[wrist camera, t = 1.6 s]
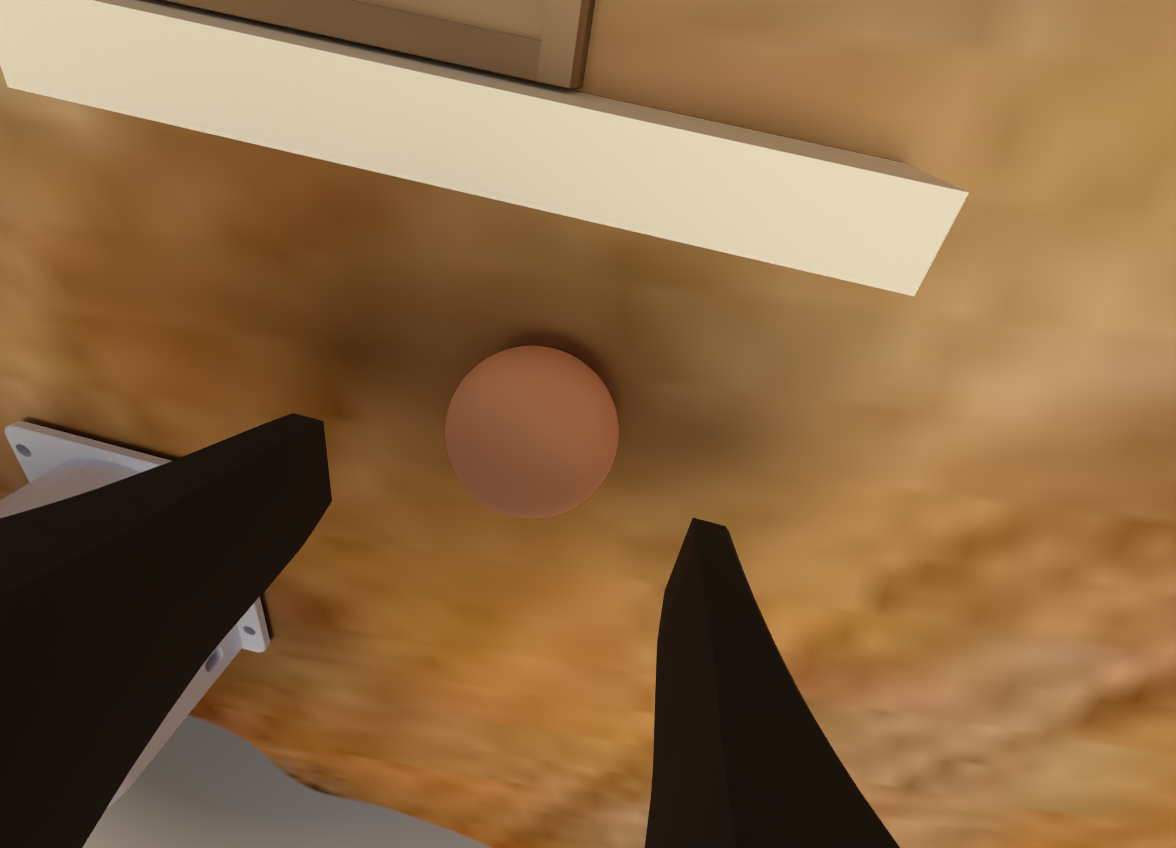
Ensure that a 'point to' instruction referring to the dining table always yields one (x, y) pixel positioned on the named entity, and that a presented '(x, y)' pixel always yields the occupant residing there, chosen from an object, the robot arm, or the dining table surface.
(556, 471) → the ball
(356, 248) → the dining table surface
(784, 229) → the strip
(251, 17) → the tray
